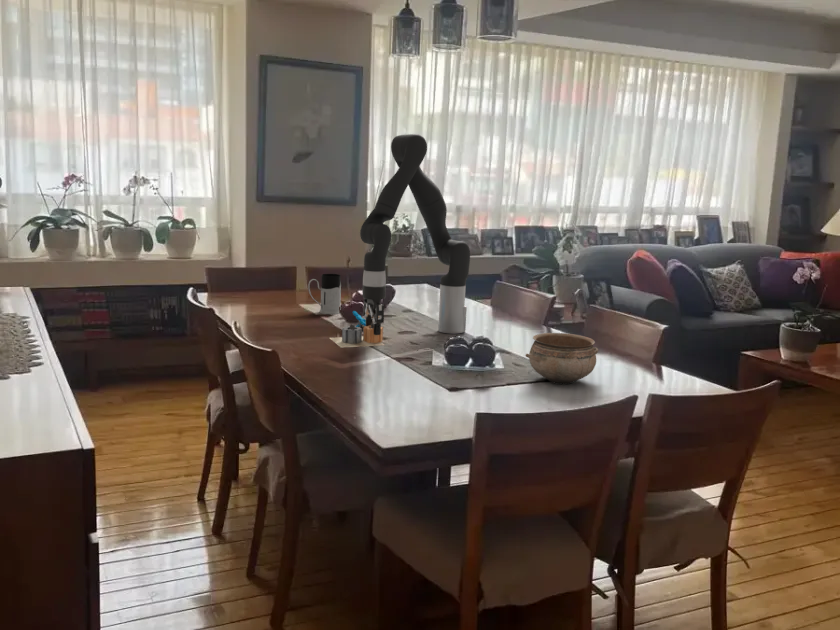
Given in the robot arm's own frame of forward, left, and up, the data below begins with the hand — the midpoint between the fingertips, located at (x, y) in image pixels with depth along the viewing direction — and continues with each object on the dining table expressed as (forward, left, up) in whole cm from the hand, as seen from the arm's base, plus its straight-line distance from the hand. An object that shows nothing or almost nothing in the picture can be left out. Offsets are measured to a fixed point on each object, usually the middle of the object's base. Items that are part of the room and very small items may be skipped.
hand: (372, 332), depth 254 cm
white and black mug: (+2, -56, -4) cm, 56 cm away
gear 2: (0, 0, -3) cm, 3 cm away
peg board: (+6, 0, -4) cm, 7 cm away
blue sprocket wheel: (-3, -19, -4) cm, 20 cm away
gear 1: (+7, 0, -3) cm, 8 cm away
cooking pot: (-38, +55, -4) cm, 67 cm away
